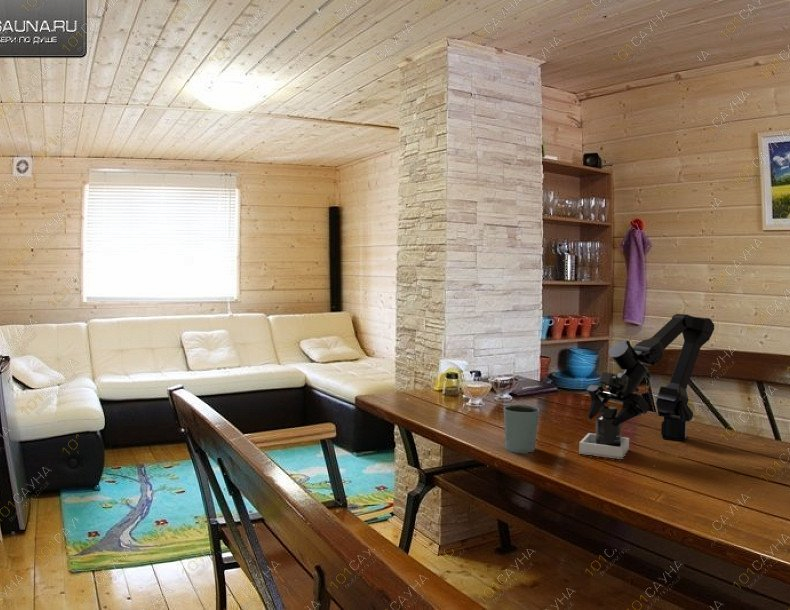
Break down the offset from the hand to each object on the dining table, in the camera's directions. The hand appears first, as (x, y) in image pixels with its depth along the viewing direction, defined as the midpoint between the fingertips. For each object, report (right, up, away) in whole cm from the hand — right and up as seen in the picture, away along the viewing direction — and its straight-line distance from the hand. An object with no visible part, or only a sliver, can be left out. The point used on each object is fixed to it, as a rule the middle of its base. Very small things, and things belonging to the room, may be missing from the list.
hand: (601, 421), depth 190 cm
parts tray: (+1, -9, +1) cm, 9 cm away
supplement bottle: (+2, -8, 0) cm, 8 cm away
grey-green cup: (-22, -9, +5) cm, 24 cm away
